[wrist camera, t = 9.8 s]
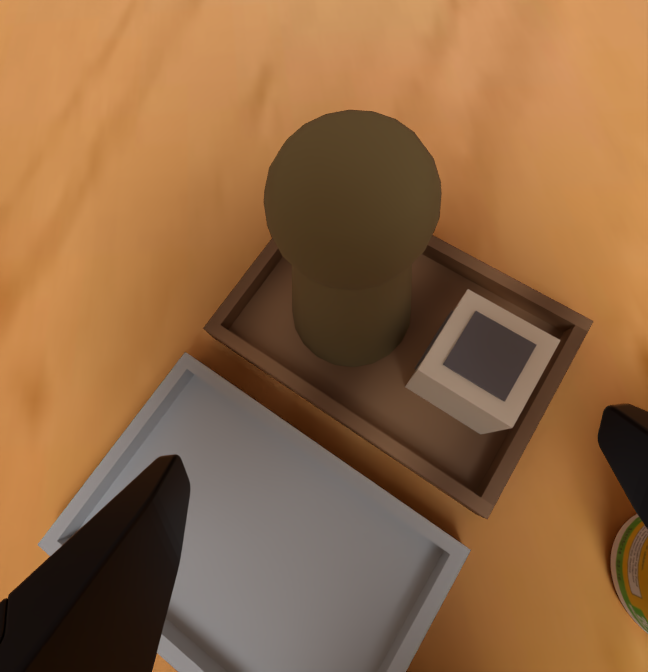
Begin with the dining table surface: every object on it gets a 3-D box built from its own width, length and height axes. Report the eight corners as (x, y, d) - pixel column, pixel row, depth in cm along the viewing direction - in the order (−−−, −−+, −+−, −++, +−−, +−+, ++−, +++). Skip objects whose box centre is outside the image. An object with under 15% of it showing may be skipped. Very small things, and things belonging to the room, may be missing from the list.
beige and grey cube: (520, 362, 20) (561, 339, 16) (480, 434, 19) (513, 427, 15) (444, 319, 21) (466, 286, 17) (403, 385, 20) (415, 367, 16)
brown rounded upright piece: (312, 243, 23) (279, 55, 12) (424, 270, 22) (492, 94, 11) (276, 347, 21) (202, 236, 11) (394, 381, 20) (440, 297, 10)
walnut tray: (576, 330, 21) (593, 321, 19) (476, 514, 19) (487, 519, 17) (322, 192, 24) (320, 175, 23) (212, 337, 22) (203, 328, 21)
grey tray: (461, 543, 19) (470, 550, 17) (333, 780, 16) (331, 810, 15) (196, 359, 22) (185, 351, 20) (60, 538, 20) (37, 544, 18)
